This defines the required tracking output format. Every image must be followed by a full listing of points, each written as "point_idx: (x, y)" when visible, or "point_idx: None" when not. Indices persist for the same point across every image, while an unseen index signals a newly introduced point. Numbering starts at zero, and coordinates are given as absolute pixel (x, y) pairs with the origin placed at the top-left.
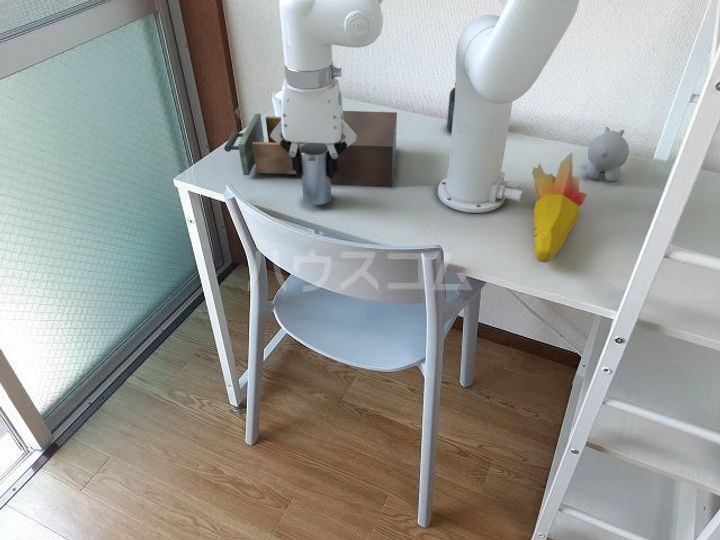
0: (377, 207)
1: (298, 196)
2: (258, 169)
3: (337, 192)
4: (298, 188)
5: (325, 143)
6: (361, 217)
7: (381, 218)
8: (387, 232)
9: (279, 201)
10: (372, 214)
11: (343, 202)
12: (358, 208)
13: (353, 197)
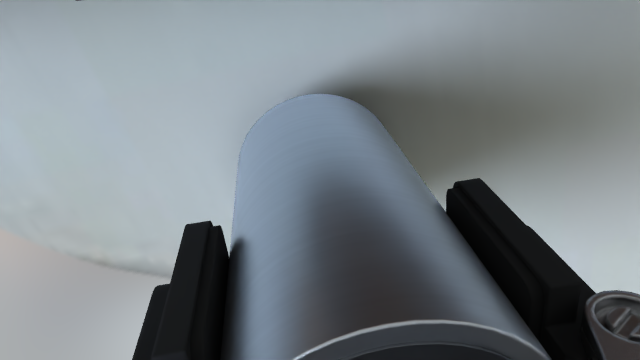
0: (611, 131)
1: (188, 126)
2: None
3: (397, 36)
4: (150, 42)
5: (521, 343)
6: (535, 219)
7: (620, 206)
8: (632, 281)
9: (109, 193)
10: (584, 188)
11: (444, 127)
12: (521, 159)
13: (492, 69)
